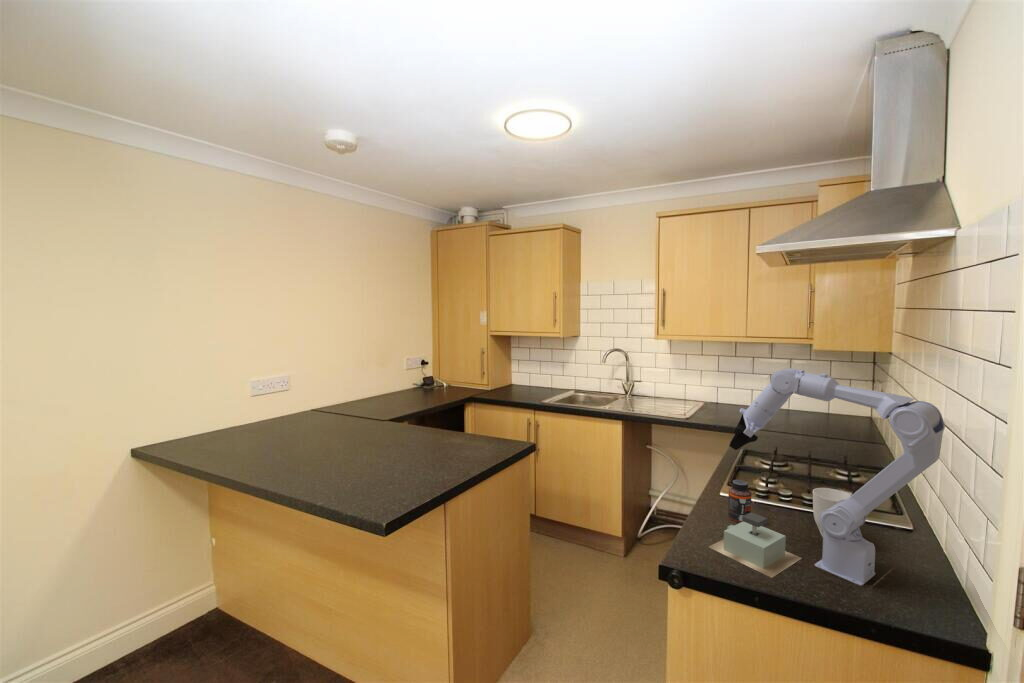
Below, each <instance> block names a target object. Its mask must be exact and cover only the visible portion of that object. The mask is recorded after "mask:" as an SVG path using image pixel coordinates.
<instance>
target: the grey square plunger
mask: <svg viewBox="0 0 1024 683" xmlns="http://www.w3.org/2000/svg"><path fill="white" fill-rule="evenodd" d="M742 521H743V522H746V523H748V524H751V525H752V535H755V536H757V527H760V526H762V527H763V526H764V525H766V524H767V523H768V518H767V517H764V516H762V515H759V514H757V513H755V512H752V511H751V513H749V514H747V515H745V516H742Z"/></svg>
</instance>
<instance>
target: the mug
mask: <svg viewBox="0 0 1024 683" xmlns="http://www.w3.org/2000/svg"><path fill="white" fill-rule="evenodd" d="M850 496H851V494H850V493H848V492H846V491H842V490H839V489H836V488H835V489H834V488H829V487H817V488H814V489H812V508H813V510H812V511H813V518H814V521H815V524H816V526H817V528H818V530H819V533H820V535H821V537H822V538H823V528H822V526H821V524H820V515H821V513H822V512H823V511H825V510H827V509H829V508H831V507H832V506H834V505H835V504H836V503H837V502H838V501H840V500H845V499H848V498H849V497H850Z"/></svg>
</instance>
